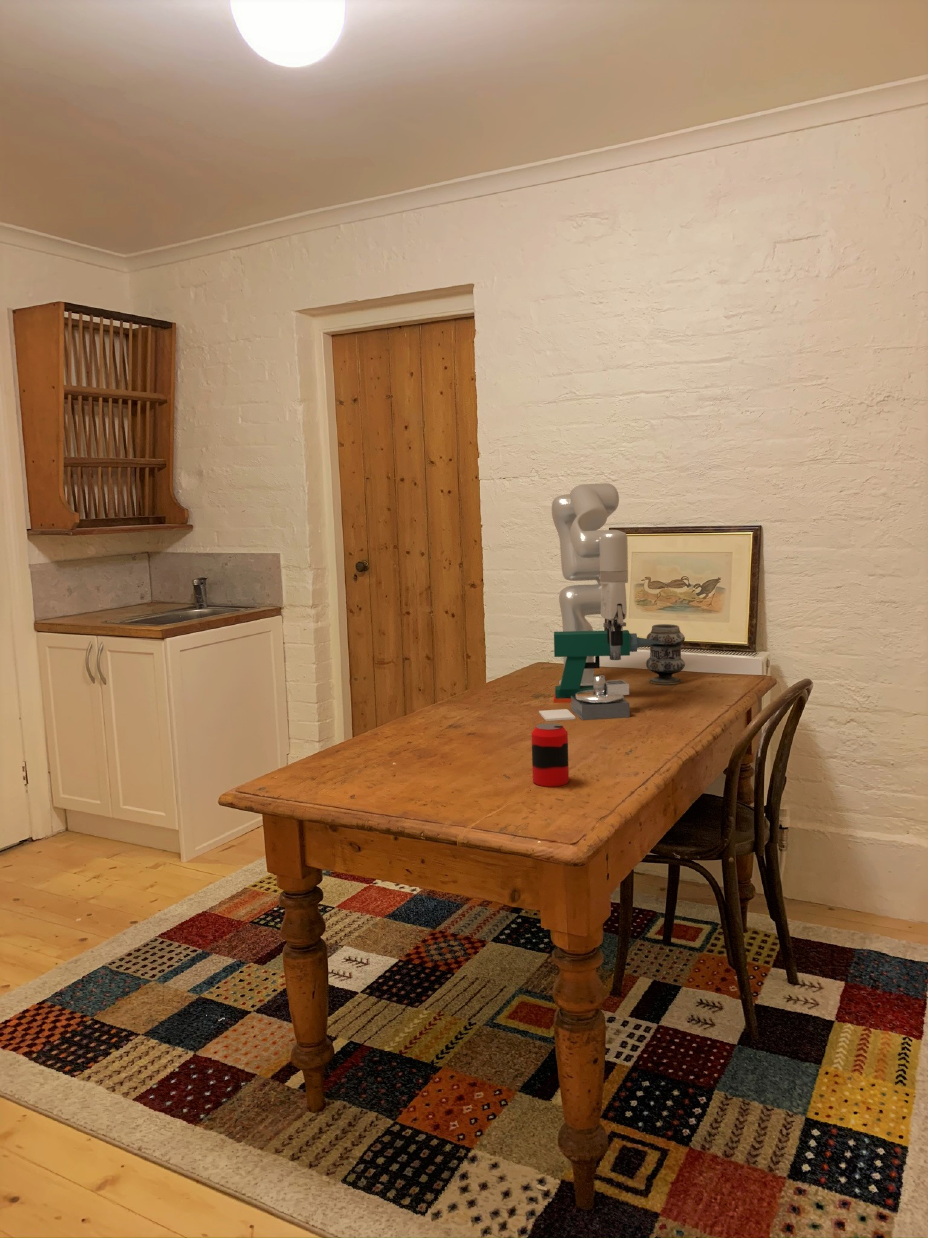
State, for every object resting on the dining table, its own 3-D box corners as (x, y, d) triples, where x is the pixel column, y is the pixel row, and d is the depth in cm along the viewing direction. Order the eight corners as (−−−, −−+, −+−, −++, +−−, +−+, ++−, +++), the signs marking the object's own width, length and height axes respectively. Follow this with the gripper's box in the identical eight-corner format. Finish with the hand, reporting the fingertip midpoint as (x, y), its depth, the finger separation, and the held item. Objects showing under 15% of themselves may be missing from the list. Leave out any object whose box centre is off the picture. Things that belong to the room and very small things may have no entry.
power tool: (662, 696, 281) (661, 629, 279) (664, 701, 275) (664, 632, 272) (553, 697, 285) (552, 631, 282) (553, 702, 278) (551, 634, 275)
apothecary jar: (688, 685, 296) (688, 627, 294) (649, 686, 296) (649, 629, 294) (680, 677, 308) (680, 622, 306) (643, 679, 308) (642, 623, 306)
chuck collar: (570, 694, 267) (570, 673, 267) (619, 691, 269) (619, 670, 268) (581, 704, 254) (581, 681, 254) (632, 700, 256) (632, 678, 255)
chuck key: (603, 658, 262) (602, 622, 261) (624, 657, 263) (623, 621, 261) (606, 660, 259) (605, 624, 258) (627, 659, 260) (627, 623, 258)
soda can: (563, 788, 196) (562, 731, 195) (528, 785, 199) (526, 729, 197) (572, 778, 203) (571, 722, 202) (538, 775, 206) (536, 721, 204)
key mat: (539, 713, 265) (538, 710, 265) (567, 711, 266) (567, 709, 266) (546, 721, 255) (546, 718, 255) (575, 719, 256) (575, 717, 256)
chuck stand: (571, 709, 268) (570, 695, 267) (616, 707, 269) (616, 693, 269) (582, 720, 255) (581, 705, 254) (629, 717, 256) (629, 702, 256)
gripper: (592, 575, 266) (594, 641, 268) (608, 580, 249) (609, 649, 252) (619, 574, 266) (620, 639, 269) (636, 579, 250) (637, 648, 253)
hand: (615, 643), depth 260 cm, fingers closed on chuck key, 3 cm apart
